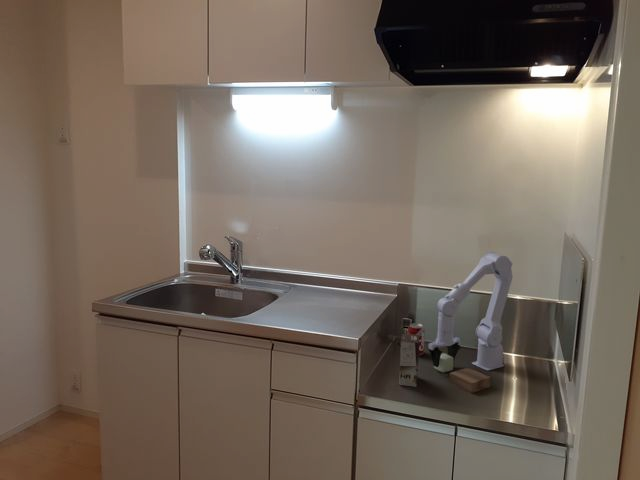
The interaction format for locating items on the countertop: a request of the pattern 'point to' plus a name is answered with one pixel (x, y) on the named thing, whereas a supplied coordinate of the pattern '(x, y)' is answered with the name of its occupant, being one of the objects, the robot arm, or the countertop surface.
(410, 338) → the coffee box
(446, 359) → the sage cube
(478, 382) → the walnut base
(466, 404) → the countertop surface
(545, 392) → the countertop surface
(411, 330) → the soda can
